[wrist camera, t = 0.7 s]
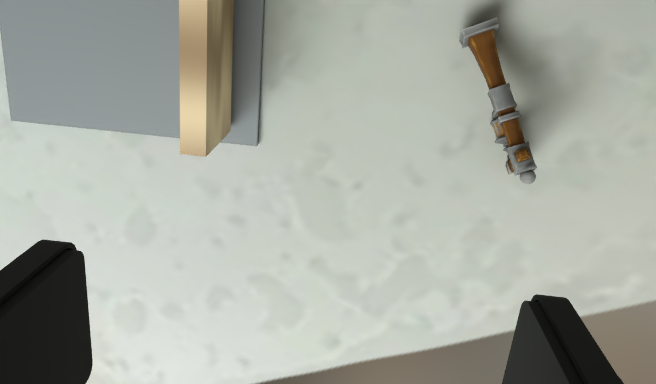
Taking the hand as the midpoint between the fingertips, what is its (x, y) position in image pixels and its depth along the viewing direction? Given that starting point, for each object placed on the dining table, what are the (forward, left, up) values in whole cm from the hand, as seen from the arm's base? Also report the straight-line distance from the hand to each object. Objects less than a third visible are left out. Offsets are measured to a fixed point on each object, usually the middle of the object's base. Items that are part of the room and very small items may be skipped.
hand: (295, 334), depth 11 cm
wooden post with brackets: (-2, +8, -21) cm, 22 cm away
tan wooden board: (-5, -6, -19) cm, 21 cm away
